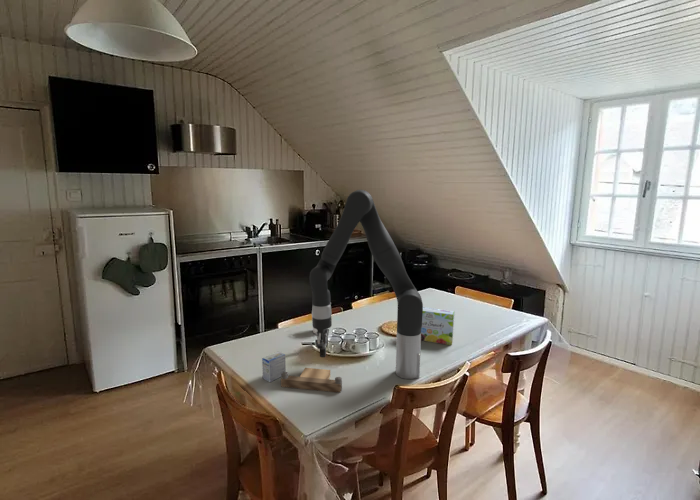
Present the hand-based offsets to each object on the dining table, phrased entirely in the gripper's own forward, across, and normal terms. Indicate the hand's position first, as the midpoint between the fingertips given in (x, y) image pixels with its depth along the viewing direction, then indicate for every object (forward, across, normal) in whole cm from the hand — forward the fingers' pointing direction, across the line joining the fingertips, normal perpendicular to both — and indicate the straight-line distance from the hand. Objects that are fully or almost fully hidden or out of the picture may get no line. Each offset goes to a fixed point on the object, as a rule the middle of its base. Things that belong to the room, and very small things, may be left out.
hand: (323, 356), depth 162 cm
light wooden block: (+5, -11, 0) cm, 12 cm away
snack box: (+6, +36, -42) cm, 56 cm away
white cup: (+5, +36, +11) cm, 38 cm away
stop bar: (+5, -16, 0) cm, 17 cm away
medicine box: (+5, -11, +16) cm, 20 cm away
